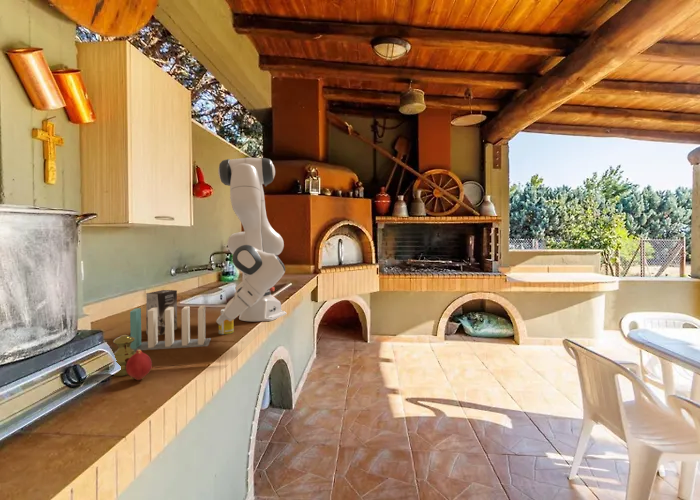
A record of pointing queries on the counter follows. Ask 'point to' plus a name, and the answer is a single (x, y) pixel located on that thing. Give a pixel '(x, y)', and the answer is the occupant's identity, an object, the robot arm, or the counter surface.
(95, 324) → the counter surface
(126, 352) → the olive waisted piece
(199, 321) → the domino
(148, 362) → the onion
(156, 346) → the slate board
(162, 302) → the coffee box
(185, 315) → the domino
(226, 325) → the supplement bottle
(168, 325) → the domino
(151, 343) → the domino
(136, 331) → the domino
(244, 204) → the robot arm
